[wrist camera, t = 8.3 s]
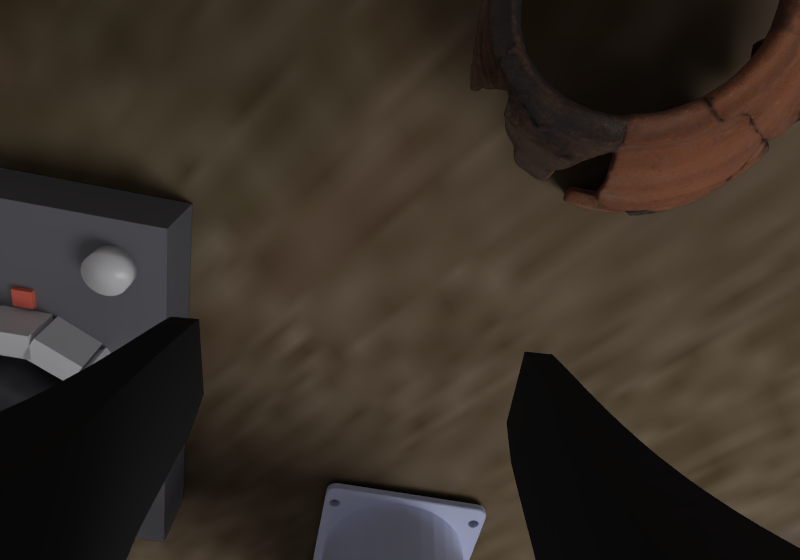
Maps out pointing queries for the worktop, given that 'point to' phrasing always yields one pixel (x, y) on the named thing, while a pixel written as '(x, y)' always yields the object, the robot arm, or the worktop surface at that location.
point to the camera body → (91, 282)
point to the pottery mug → (642, 119)
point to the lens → (22, 380)
